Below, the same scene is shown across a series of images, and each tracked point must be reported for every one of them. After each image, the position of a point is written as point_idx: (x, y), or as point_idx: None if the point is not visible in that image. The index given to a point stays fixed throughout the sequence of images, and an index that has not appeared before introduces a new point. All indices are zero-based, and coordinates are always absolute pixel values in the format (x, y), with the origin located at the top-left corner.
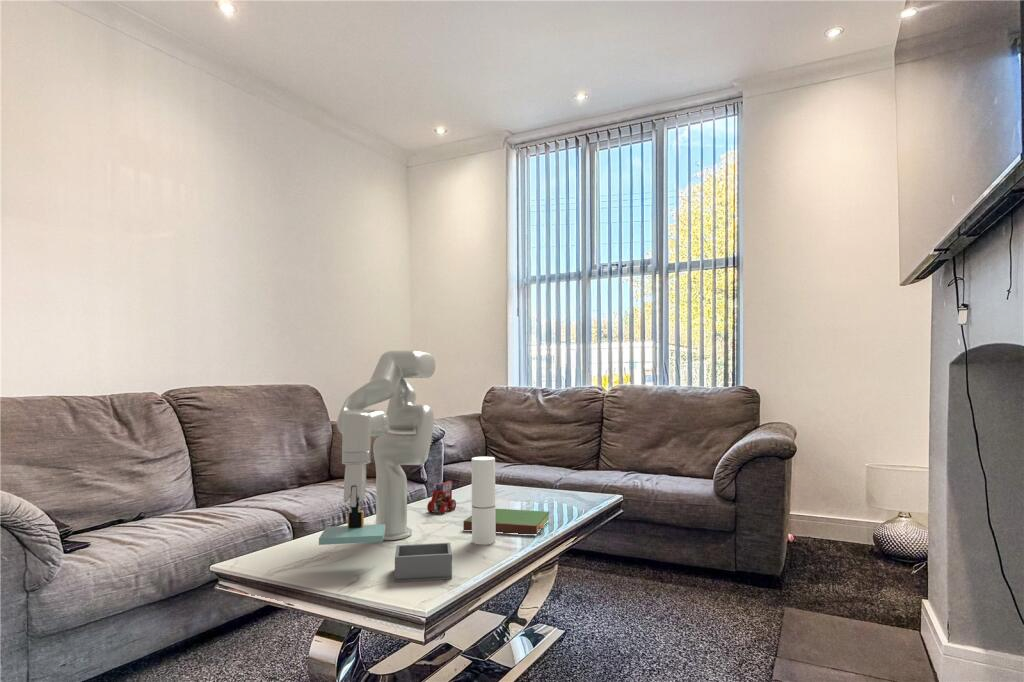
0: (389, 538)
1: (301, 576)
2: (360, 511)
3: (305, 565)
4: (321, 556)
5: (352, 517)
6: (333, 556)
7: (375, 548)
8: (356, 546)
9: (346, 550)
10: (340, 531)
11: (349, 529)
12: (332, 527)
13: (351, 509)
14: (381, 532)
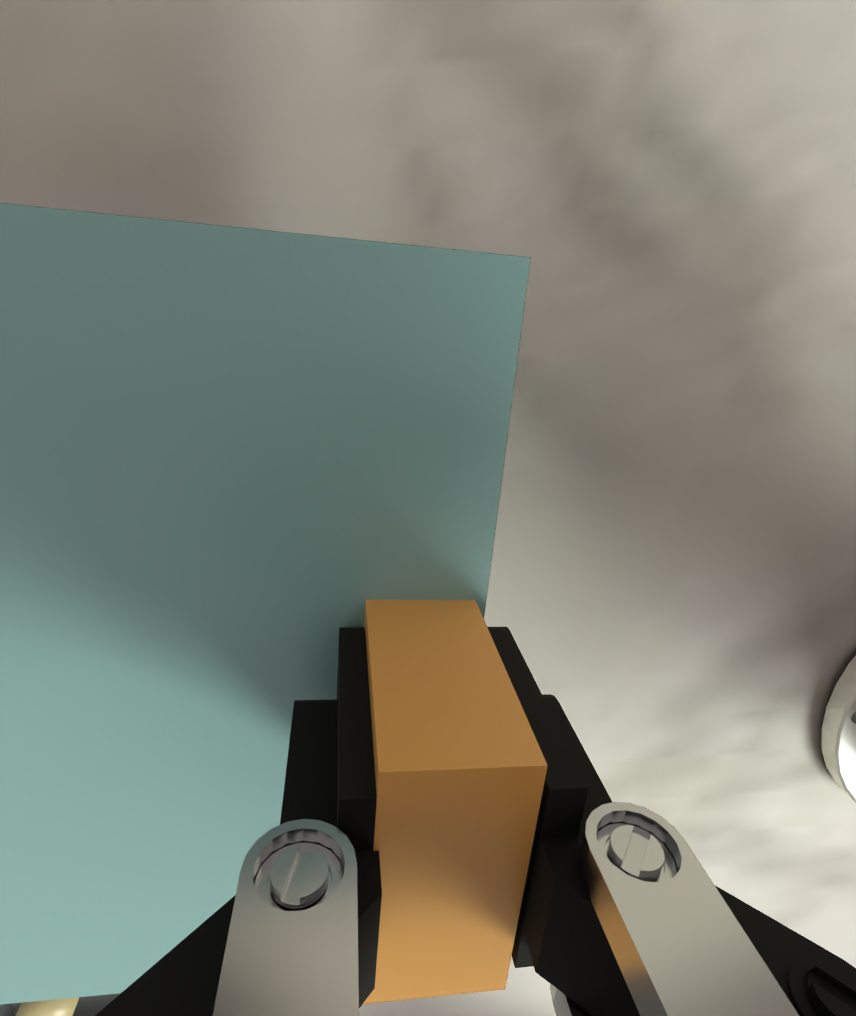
0: (838, 703)
1: (134, 57)
2: (423, 961)
3: (457, 74)
4: (670, 217)
5: (286, 795)
6: (631, 326)
7: (703, 619)
8: (810, 489)
9: (745, 421)
10: (145, 523)
11: (258, 635)
12: (448, 370)
13: (127, 994)
14: (50, 984)
